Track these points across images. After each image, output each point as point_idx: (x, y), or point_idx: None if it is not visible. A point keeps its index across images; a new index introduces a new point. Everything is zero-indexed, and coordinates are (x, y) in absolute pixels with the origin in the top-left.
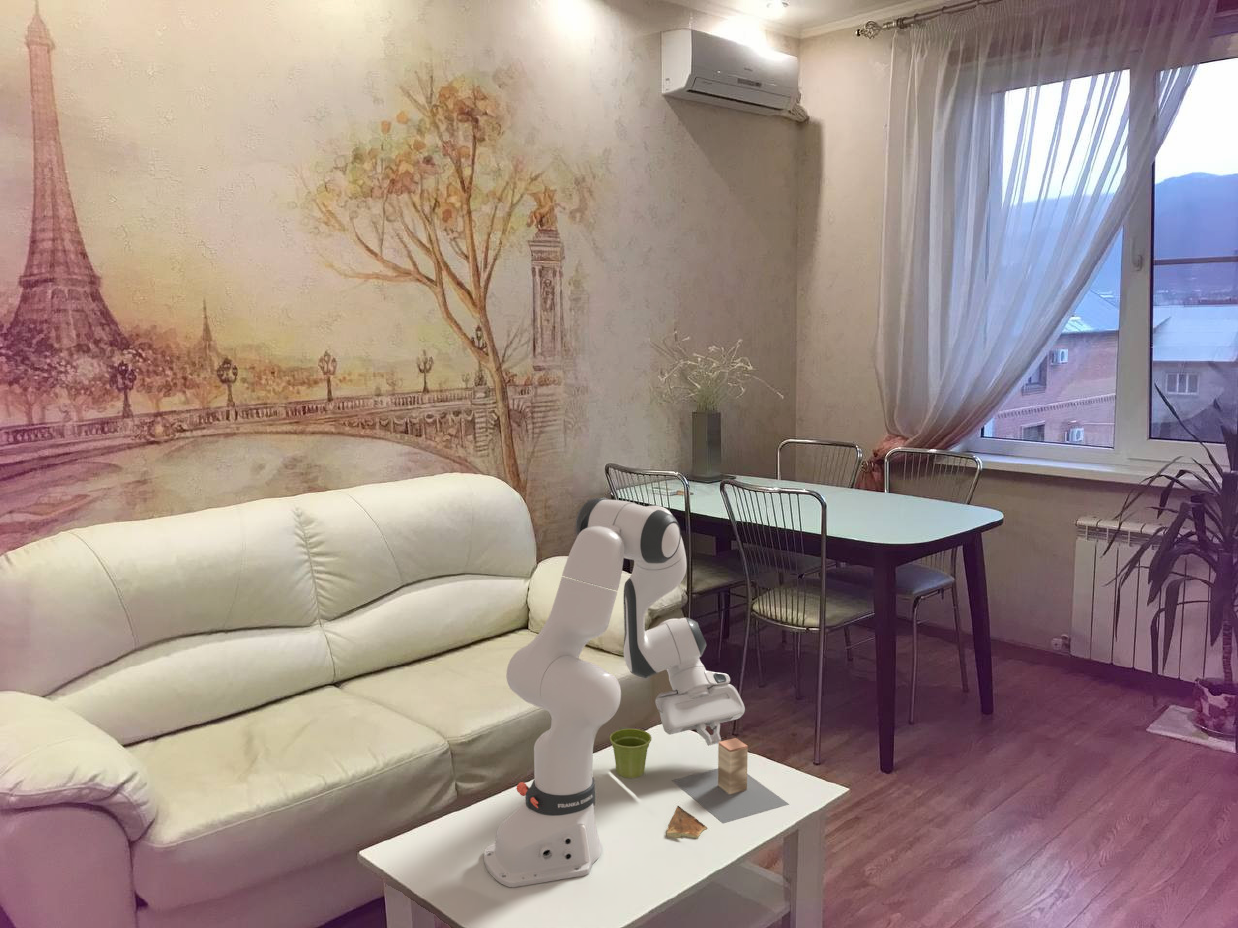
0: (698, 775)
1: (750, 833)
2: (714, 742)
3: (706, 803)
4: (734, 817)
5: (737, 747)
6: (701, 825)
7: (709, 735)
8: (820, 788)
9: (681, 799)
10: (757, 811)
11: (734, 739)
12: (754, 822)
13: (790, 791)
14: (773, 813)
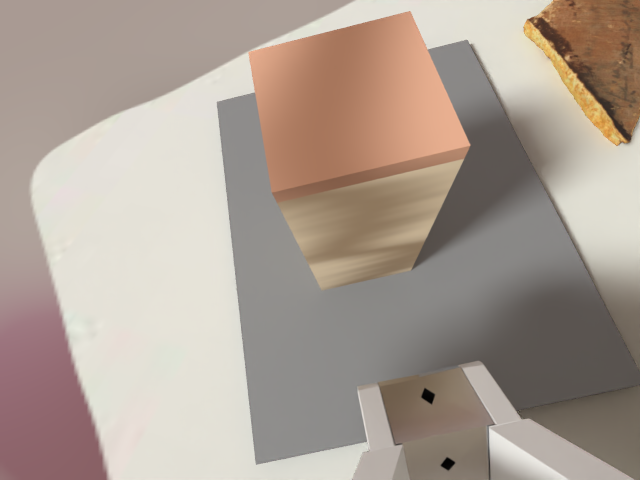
0: None
1: (394, 11)
2: (432, 371)
3: (497, 149)
4: None
5: (336, 39)
6: (547, 25)
7: (499, 421)
8: (62, 187)
9: (592, 220)
10: None
11: (299, 163)
12: None
13: (160, 189)
14: None
